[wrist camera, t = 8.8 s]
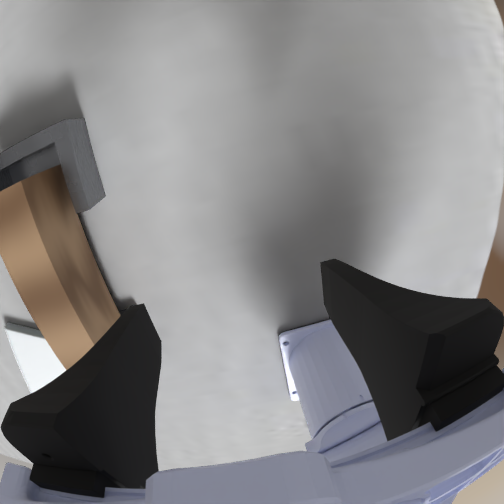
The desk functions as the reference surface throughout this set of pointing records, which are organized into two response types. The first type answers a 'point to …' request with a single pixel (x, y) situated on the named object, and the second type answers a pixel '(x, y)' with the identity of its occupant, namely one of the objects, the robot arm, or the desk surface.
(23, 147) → the bracket
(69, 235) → the wooden block
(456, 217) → the desk surface
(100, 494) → the robot arm
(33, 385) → the external hard drive
